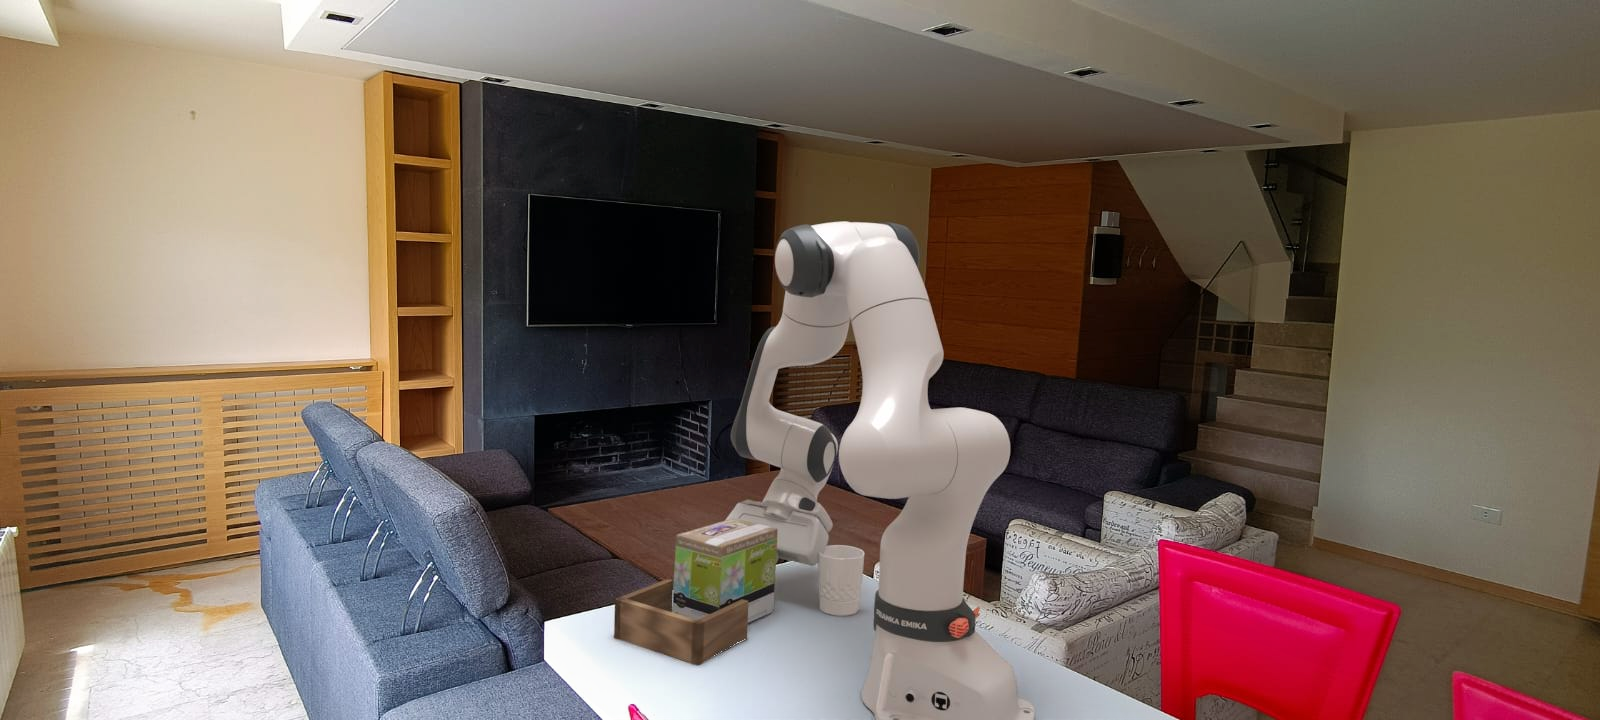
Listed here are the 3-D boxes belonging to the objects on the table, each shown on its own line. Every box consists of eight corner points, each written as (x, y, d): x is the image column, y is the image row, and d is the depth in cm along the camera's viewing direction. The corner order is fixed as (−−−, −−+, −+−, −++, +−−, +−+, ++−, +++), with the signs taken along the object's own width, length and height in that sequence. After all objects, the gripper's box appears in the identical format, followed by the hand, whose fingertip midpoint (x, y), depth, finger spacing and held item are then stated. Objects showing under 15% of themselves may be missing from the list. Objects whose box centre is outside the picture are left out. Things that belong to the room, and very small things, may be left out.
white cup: (806, 610, 148) (809, 552, 147) (831, 597, 154) (834, 542, 153) (846, 621, 143) (848, 561, 142) (870, 608, 150) (873, 551, 149)
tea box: (719, 640, 133) (722, 545, 132) (670, 624, 139) (672, 533, 138) (776, 612, 146) (779, 525, 145) (728, 598, 151) (731, 515, 150)
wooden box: (747, 638, 134) (748, 600, 134) (697, 665, 124) (698, 624, 124) (666, 614, 143) (667, 578, 143) (614, 637, 133) (614, 599, 133)
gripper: (733, 488, 160) (698, 553, 152) (829, 506, 149) (795, 577, 141) (747, 507, 164) (713, 571, 157) (841, 526, 153) (809, 596, 146)
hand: (753, 574), depth 149 cm, fingers closed, pressing on tea box
